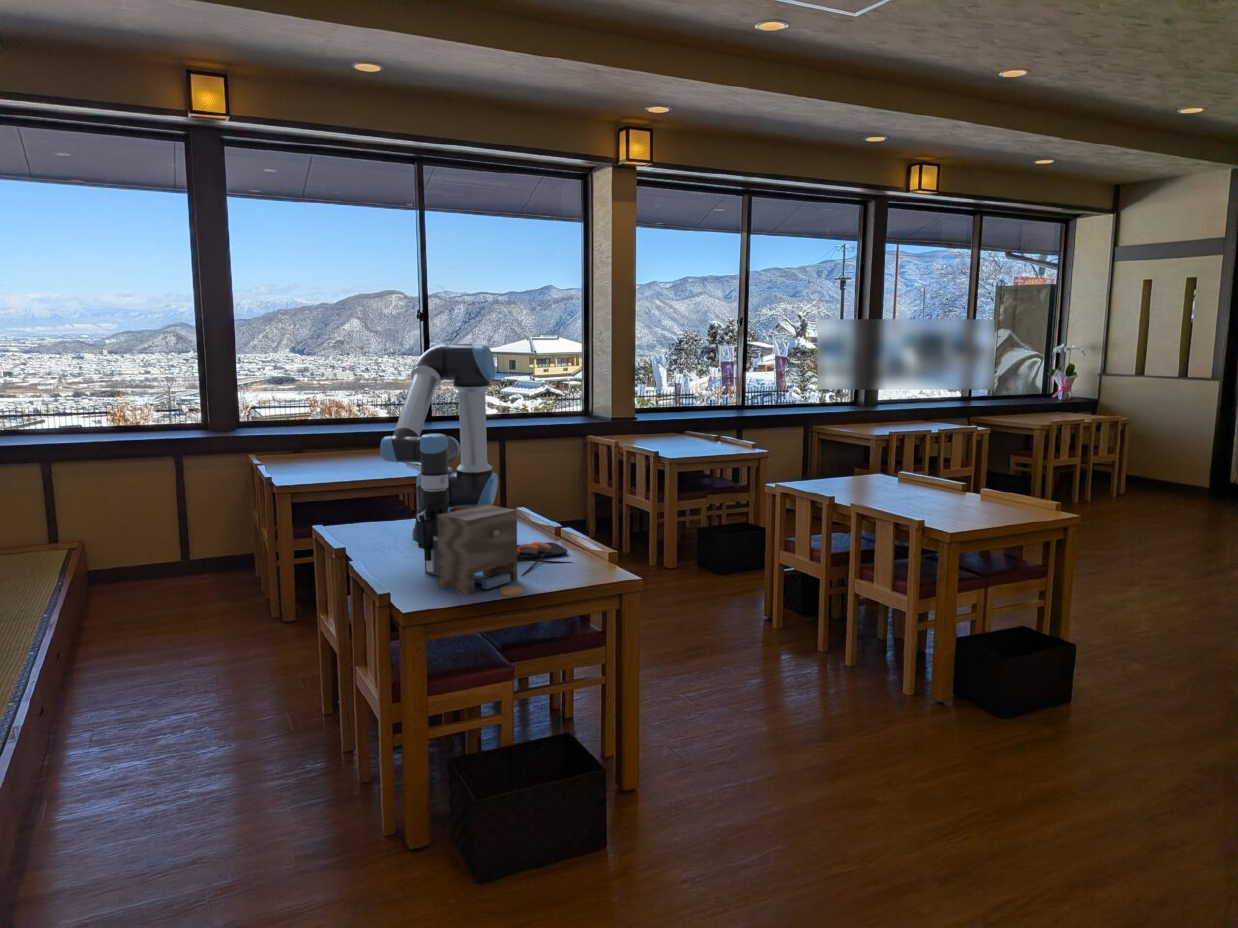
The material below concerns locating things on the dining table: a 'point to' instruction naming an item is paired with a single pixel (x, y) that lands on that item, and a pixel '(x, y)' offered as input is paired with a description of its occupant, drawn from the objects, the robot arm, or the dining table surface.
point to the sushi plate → (539, 552)
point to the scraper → (484, 581)
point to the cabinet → (476, 545)
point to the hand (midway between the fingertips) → (437, 569)
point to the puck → (511, 590)
